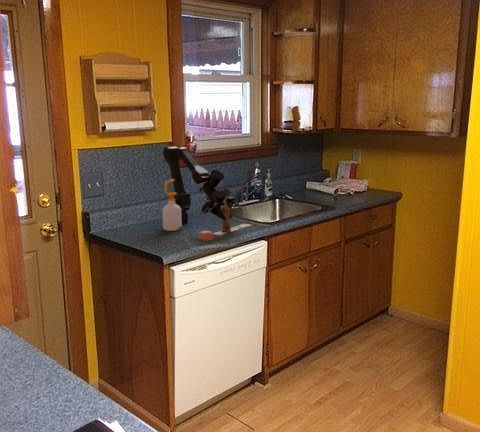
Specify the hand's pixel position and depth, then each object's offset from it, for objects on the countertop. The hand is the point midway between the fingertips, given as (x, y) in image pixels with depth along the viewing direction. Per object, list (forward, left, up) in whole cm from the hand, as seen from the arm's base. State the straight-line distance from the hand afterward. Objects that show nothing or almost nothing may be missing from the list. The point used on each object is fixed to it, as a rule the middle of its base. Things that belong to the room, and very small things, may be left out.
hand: (228, 219), depth 245 cm
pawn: (-1, +1, -6) cm, 6 cm away
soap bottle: (-24, +18, -8) cm, 31 cm away
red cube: (-13, -10, -7) cm, 18 cm away
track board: (+3, +4, -7) cm, 9 cm away
